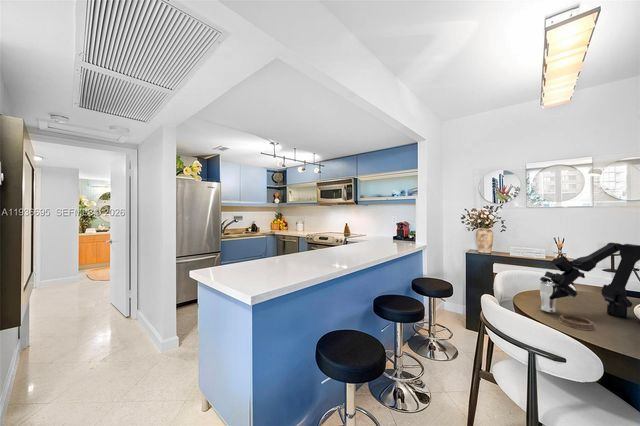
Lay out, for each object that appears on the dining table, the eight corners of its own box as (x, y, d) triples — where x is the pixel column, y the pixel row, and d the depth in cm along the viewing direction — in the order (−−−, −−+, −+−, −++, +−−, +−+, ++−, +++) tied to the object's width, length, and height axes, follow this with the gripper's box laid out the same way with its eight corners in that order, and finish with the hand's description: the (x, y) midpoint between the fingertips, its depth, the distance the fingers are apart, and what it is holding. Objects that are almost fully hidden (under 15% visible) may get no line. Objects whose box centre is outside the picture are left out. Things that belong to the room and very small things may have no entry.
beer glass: (551, 313, 132) (551, 286, 132) (536, 308, 139) (536, 282, 139) (560, 312, 134) (560, 284, 134) (545, 307, 141) (545, 281, 141)
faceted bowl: (594, 324, 122) (594, 319, 122) (594, 333, 114) (595, 328, 114) (559, 316, 131) (559, 312, 131) (557, 324, 123) (557, 319, 123)
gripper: (543, 263, 145) (522, 281, 147) (570, 271, 126) (546, 292, 128) (558, 276, 144) (537, 294, 146) (588, 286, 125) (563, 307, 127)
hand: (545, 296), depth 137 cm, fingers closed on beer glass, 6 cm apart
